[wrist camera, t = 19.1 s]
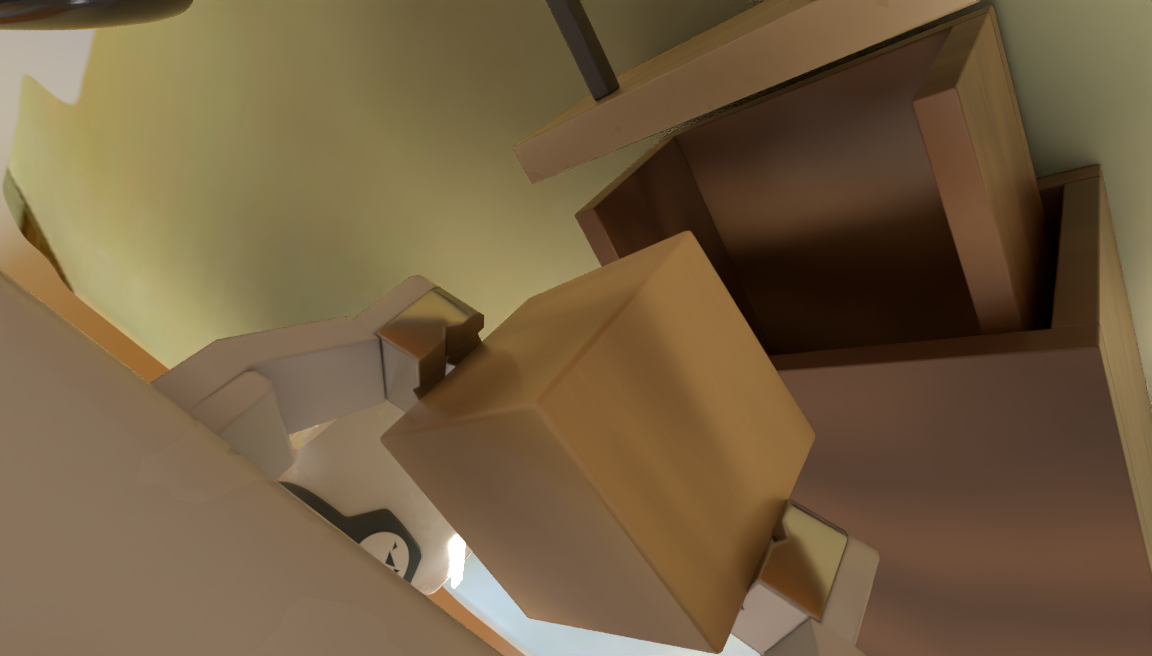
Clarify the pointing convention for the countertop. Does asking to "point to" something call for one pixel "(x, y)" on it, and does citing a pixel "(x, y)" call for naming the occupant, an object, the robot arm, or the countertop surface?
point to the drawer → (823, 170)
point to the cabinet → (997, 466)
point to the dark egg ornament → (85, 13)
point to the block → (616, 450)
